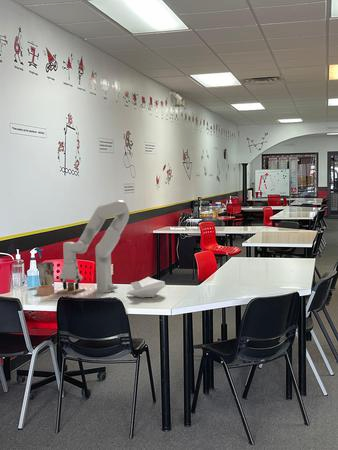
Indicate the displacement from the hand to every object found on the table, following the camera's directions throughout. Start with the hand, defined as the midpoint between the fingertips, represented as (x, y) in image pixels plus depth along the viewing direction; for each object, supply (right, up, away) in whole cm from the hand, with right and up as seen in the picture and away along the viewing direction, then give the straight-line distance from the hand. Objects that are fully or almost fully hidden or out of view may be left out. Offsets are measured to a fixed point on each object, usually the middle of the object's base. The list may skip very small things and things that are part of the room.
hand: (70, 289), depth 367 cm
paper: (+48, -3, -21) cm, 52 cm away
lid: (0, -2, 0) cm, 2 cm away
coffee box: (-21, -1, +27) cm, 35 cm away
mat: (0, -2, 0) cm, 2 cm away
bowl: (-15, -3, -4) cm, 16 cm away
